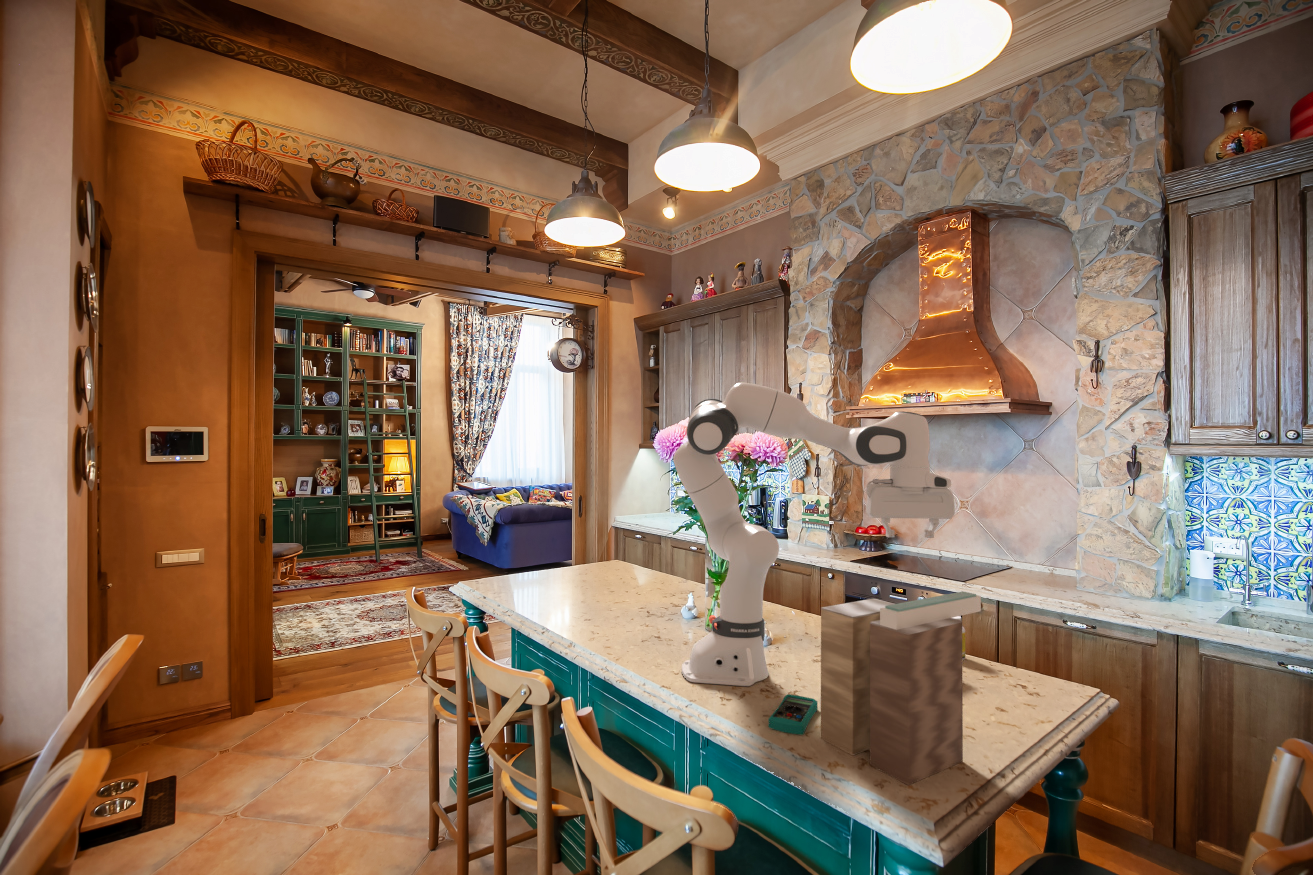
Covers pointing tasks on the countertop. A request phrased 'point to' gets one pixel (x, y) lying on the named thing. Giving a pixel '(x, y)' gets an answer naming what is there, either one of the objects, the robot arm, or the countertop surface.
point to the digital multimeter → (793, 714)
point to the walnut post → (916, 699)
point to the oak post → (847, 673)
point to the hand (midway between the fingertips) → (909, 537)
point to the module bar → (929, 610)
